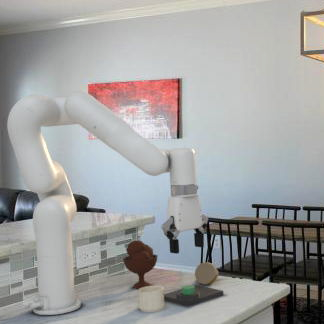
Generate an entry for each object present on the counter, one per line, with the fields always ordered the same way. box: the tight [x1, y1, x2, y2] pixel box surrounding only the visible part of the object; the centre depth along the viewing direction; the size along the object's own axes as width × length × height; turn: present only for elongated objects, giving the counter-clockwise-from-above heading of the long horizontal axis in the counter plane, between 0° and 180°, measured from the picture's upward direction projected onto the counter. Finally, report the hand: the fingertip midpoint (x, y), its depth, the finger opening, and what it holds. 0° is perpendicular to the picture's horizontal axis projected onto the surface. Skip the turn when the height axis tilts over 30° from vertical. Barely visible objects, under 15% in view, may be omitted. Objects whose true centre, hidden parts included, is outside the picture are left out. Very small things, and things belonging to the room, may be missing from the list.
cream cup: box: [137, 285, 165, 313], centre depth 149 cm, size 7×7×6 cm
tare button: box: [181, 284, 195, 295], centre depth 153 cm, size 4×4×2 cm
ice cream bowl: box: [122, 240, 159, 290], centre depth 174 cm, size 11×11×15 cm
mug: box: [194, 261, 219, 286], centre depth 176 cm, size 8×10×10 cm
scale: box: [164, 284, 224, 307], centre depth 159 cm, size 15×13×3 cm
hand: (187, 249), depth 157 cm, fingers open, 9 cm apart
